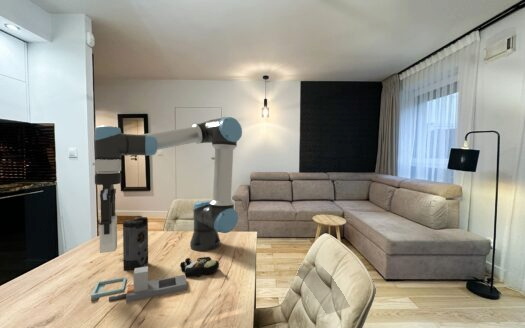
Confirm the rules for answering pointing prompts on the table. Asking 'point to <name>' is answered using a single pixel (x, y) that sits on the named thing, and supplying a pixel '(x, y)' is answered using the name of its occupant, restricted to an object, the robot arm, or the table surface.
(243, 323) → the table surface
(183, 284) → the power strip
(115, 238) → the charger
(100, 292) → the tray
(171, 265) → the table surface
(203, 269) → the toy
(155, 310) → the table surface
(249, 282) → the table surface
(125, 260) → the electronic device
